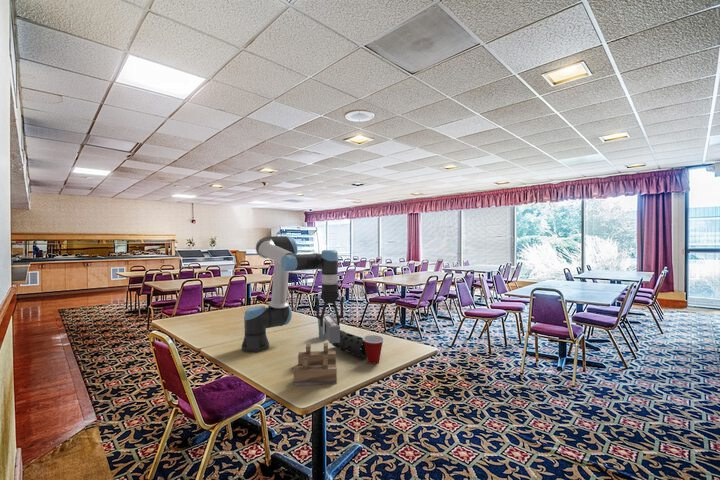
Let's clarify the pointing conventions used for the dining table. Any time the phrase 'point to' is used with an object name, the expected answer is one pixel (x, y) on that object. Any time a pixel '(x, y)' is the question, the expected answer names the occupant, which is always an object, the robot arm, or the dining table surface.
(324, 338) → the grey green pot
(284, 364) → the dining table surface
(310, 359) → the rack
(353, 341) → the black perforated cylinder
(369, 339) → the plastic cup
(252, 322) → the robot arm
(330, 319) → the gray rectangular block
